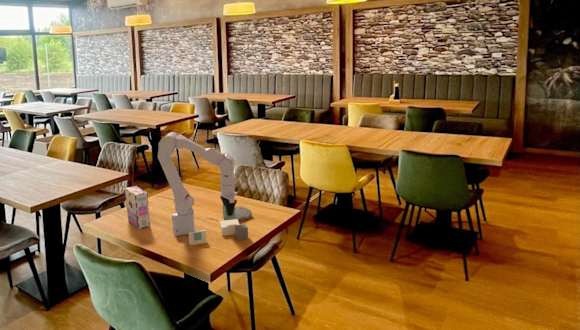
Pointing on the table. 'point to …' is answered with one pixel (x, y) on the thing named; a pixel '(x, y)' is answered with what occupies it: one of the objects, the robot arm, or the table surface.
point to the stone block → (241, 213)
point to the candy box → (137, 207)
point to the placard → (197, 237)
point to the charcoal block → (241, 232)
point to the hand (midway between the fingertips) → (228, 213)
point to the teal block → (227, 214)
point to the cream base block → (228, 226)
